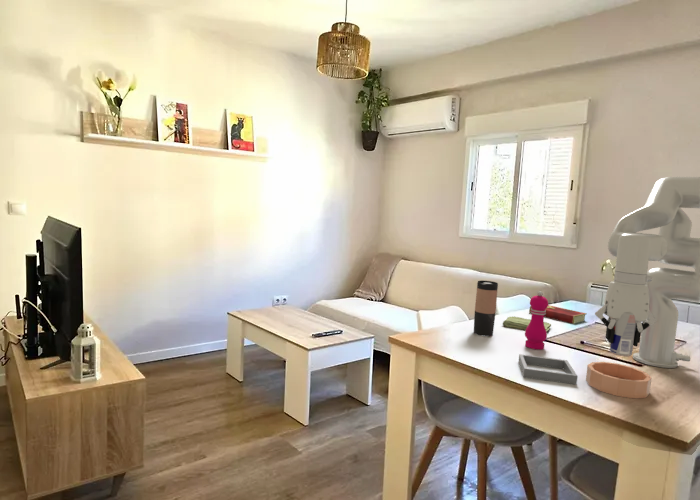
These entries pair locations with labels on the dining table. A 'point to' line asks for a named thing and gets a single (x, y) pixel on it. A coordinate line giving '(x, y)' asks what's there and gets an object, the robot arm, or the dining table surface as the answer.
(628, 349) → the energy drink
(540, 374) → the parts tray
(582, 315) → the hardcover book
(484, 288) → the travel mug
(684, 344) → the dining table surface
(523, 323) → the washcloth
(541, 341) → the pepper mill
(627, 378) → the bowl
